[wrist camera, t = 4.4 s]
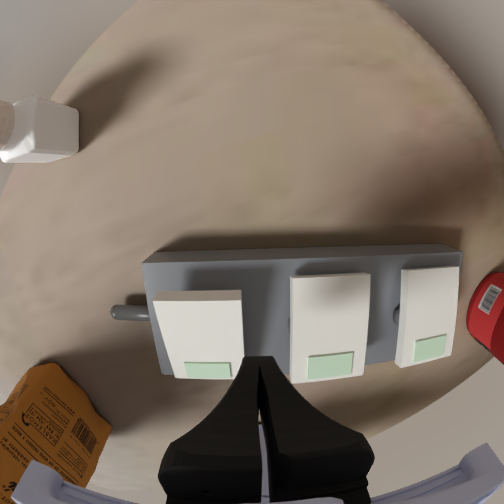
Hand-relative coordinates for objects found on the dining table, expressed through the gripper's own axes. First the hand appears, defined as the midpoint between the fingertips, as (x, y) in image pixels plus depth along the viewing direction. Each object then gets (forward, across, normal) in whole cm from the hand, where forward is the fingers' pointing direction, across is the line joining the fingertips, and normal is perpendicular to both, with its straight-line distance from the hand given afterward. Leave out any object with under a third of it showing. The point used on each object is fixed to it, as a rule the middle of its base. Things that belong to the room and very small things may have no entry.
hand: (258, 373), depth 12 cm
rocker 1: (+6, +3, +1) cm, 7 cm away
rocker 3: (+6, -13, +1) cm, 14 cm away
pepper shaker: (+10, +16, -13) cm, 23 cm away
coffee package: (+10, +22, +15) cm, 28 cm away
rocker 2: (+6, -5, +1) cm, 8 cm away
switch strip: (+10, -3, +1) cm, 10 cm away
